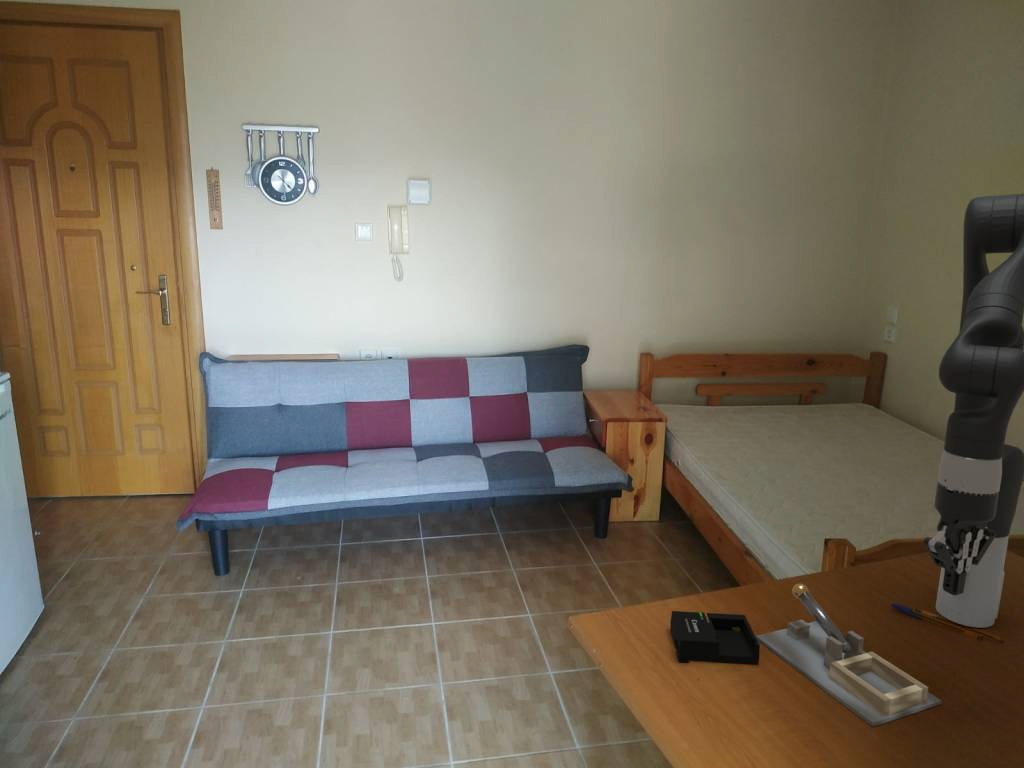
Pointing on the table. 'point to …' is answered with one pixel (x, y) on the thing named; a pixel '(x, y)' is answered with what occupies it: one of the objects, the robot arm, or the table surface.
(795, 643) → the grey mounting base
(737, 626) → the battery charger
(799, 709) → the table surface
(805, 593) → the metal lever
